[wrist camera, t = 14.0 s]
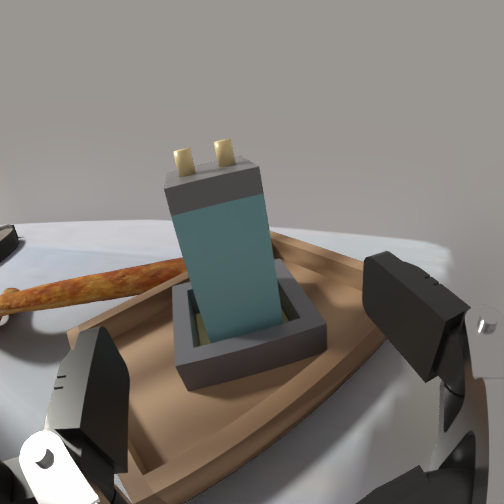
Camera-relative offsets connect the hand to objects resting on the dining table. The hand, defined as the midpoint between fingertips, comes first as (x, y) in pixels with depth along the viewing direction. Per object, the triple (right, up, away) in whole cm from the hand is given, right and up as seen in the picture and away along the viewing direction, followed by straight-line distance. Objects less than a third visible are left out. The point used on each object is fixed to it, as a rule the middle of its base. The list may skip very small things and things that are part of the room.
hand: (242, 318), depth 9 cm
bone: (-18, -5, +21) cm, 28 cm away
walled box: (-1, -5, +14) cm, 15 cm away
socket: (0, -4, +14) cm, 15 cm away
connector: (0, -4, +14) cm, 15 cm away
